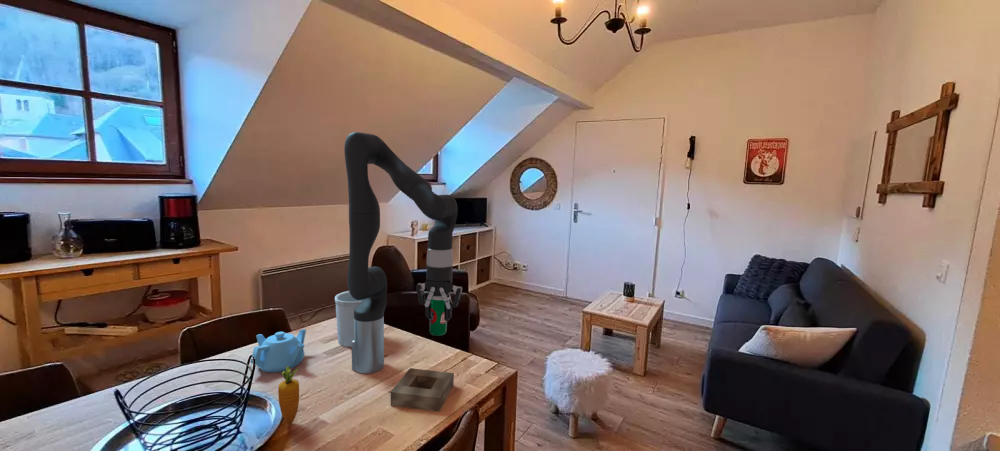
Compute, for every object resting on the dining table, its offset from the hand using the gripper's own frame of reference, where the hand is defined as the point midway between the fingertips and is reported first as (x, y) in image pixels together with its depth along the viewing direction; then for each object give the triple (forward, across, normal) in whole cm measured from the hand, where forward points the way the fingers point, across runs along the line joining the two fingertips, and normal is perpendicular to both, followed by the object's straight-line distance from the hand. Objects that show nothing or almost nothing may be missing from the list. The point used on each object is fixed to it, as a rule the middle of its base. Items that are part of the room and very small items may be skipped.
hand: (438, 318), depth 120 cm
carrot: (+22, -31, -25) cm, 45 cm away
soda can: (+5, 0, 0) cm, 5 cm away
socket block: (+21, -2, -6) cm, 22 cm away
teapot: (+22, -54, +4) cm, 58 cm away
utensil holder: (+22, -39, +26) cm, 52 cm away
